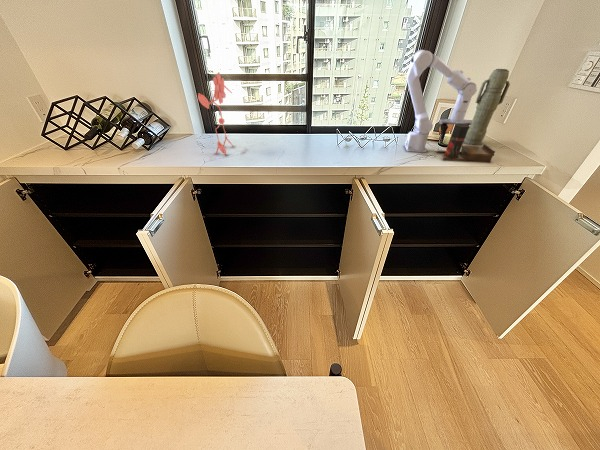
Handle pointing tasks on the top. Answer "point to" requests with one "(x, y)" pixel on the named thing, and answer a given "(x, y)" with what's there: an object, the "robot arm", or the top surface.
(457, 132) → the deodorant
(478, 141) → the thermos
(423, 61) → the robot arm
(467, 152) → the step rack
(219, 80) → the figurine
